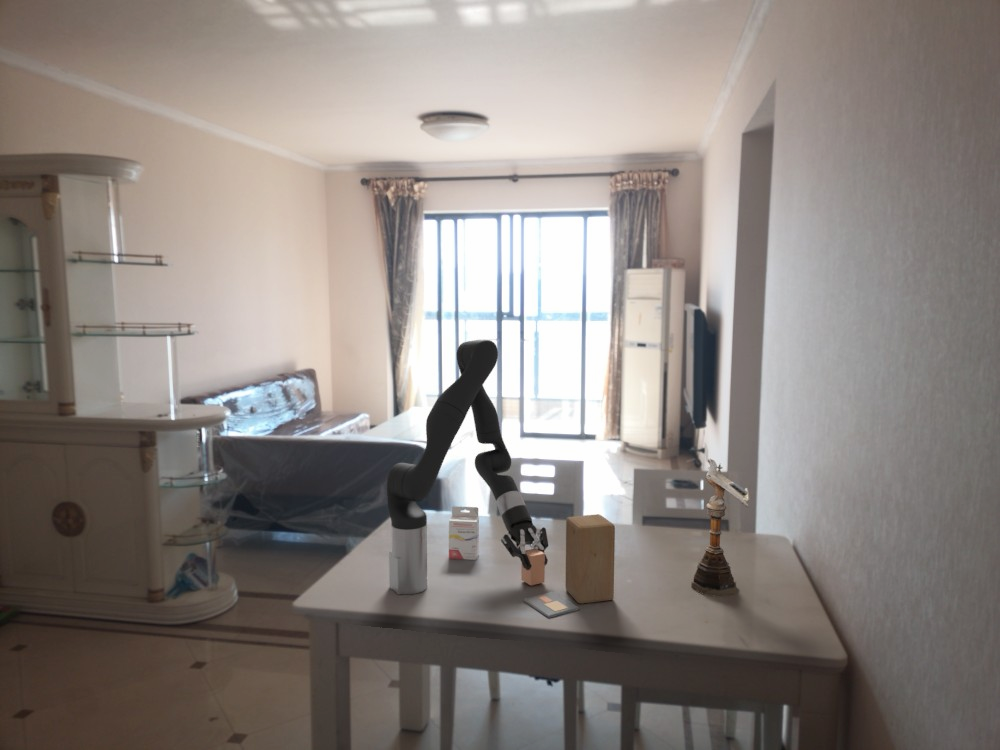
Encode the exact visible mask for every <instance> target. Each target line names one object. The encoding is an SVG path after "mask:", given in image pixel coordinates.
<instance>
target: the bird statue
mask: <svg viewBox="0 0 1000 750" xmlns="http://www.w3.org/2000/svg"><path fill="white" fill-rule="evenodd" d="M707 463H708V464H709V466H708V467H707V469H708V471H707V473H706V475H705V479H706V481H707V483H708V484H709V485H711V486H712V487H713V488H714V492H715V493H714V495H713V496H711V497H710V499H709V501H708V503H707V504H706V505H705V506H706V508H707V512H706V513H707V515H708V516H710V517H709V518H710V529H709V531H708V532H709V535H710V537H709V545H707V546H706V548H705V549H704V551H705V553H704V555H703V556H702V558H700V560H699V562H698V564H697V567H696V568H697V569H696V571H695V573H694V575H693V577H692V580H691V586H690V587H691V589H693V588H694V589H693V590H695V591H697V592H698V591H699V592H698V593H700V592H701V593H700V594H702V593H703V594H702V595H706V594H710V595H709V596H713V595H715V596H714V597H719V596H721V597H726V596H731V594H732V595H735V594H736V589H737V581H736V580H735V579H734V576H733V574H732V570H731V568H732V567H731V566H730V565H729V562H727V559H726V556H725V555H724V549H723V548H722V547H721V545H720V544H721V542H720V541H721V535H722V531H721V526H722V525H721V522H722V518H723V517H724V516H725V515H726V512H725V511H726V509H727V505H726V504H725V499H724V496H725V491H727V493H730V495H732V496H733V497H734V498H736V499H737V500H738V501H739V502H740V503H741V504H743V506H745V507H746V508H749V502H750V500H751V499H750V492H749V488H748V487H745V488H743V487H742V486H741V485H739V484H737V483H736V482H735V481H732V480H730V479H729V478H728V477H726V476H725V475H723V473H722V470H721V469H723V468H724V467H723V466H722V465H721V463H719V464H718V465H717V463H716V461H715V460H714V459H711V458H708V459H707Z"/></svg>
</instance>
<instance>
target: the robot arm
mask: <svg viewBox="0 0 1000 750" xmlns="http://www.w3.org/2000/svg"><path fill="white" fill-rule="evenodd" d="M498 358H499V349H498V347H497V344H495V342H493V341H492V340H490V339H476V340H475V339H474V340H468V341H467V340H466V341H464V342H462V343H460V344H459V346H458V347H457V349H456V362H457V366H458V370H459V372H460V376H459V377H458V378H457V379H456V380H455V381H454V382H453V383H452V384H450V386H448V387H447V388H446V389H445V390H444V391H443V392H442V393H441V394H440V395H439V396H438V397H437V399H436V401H435V402H434V404H433V406H432V408H431V409H430V411H429V413H428V416H427V418H426V423H425V432H426V433H425V435H426V446H425V448H424V451H423V454H422V456H421V457H420V459H419V461H418V463H417V464H414V463H413V464H412V463H407V462H397V463H396V464H394V465H393V466H391V468H390V469H389V472H388V475H387V478H386V497H387V498H386V500H387V513H388V516H389V518H390V522H391V551H389V553H388V554H389V555H388V563H389V564H388V567H389V569H388V571H389V572H388V573H389V574H388V575H389V578H388V579H389V581H388V582H389V588H390V589H392V590H393V592H395V594H397V595H403V594H404V595H412V594H413V595H415V594H418V593H422V592H423V591H425V590H427V588H428V535H427V534H428V530H427V529H428V526H427V523H428V522H427V520H428V518H427V517H428V515H427V513H426V512H425V511H424V510H423V509H422V508H421V507H420V506H419V505H418V504H417V502H422V501H424V500H425V499H427V498H428V496H429V495H430V493H431V491H432V489H433V488H434V486H435V483H436V481H437V478H438V476H439V473H440V470H441V468H442V465H443V463H444V460H445V458H446V456H447V454H448V452H449V450H450V447H451V445H452V443H453V441H454V439H455V437H456V435H457V434H458V432H459V430H460V428H461V427H462V425H463V422H464V420H465V419H466V416H467V414H468V413H469V410H470V408H471V410H472V415H473V421H474V422H473V423H474V427H475V433H476V439H477V441H478V443H480V444H482V445H483V444H484V445H489V444H490V445H493V447H494V449H492V450H487V451H483V452H480V453H478V454H476V456H475V457H474V458H475V459H474V467H475V470H476V472H477V473H478V475H479V476H480V477H481V479H482V480H483V481H484V483H486V485H487V486H488V487H489V489H490V490H491V492H492V494H493V496H494V497H493V498H494V500H495V502H496V505H497V509H498V511H499V514H500V517H501V518H502V521H503V524H504V526H505V529H506V531H508V533H507V534H506V533H505V534H504V535H503V536H502V538H501V539H500V541H501V543H502V545H503V546H504V547H505V549H506V551H507V552H509V554H510V555H511V557H512V558H515V557H517V558H519V560H520V563H521V566H522V565H523V567H524V568H526V570H529V569H530V568H531V567H532V566H531V564H530V561H529V559H528V556H527V554H525V550H526V545H528V546H530V548H531V549H535V548H536V549H538V550H540V551H541V552H543V553H545V551H546V549H547V548H548V547H549V540H548V534H547V529H546V527H545V526H544V527H542V528H538V527H536V526H535V525H534V523H533V519H532V517H531V514H530V512H529V509H528V507H527V505H526V503H525V500H524V499H523V497H522V495H521V493H520V491H519V488H518V487H517V484H516V482H515V479H514V478H513V477H512V476H511V475H505V474H504V475H503V474H502V473H505V472H508V471H509V470H510V468H511V467H512V458H511V455H510V453H509V450H508V448H507V446H506V444H505V441H504V439H503V437H502V434H501V433H502V432H501V429H500V421H499V416H498V412H497V409H496V407H495V405H494V403H493V401H492V399H491V398H490V397H489V395H488V394H487V391H486V390H485V389H486V388H485V387H484V384H485V382H486V380H487V379H488V377H489V376H490V374H491V373H492V372H493V370H494V369H495V367H496V364H497V361H498ZM548 562H549V560H548V557H547V555H546V553H545V567H546V566H547V564H548Z"/></svg>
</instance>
